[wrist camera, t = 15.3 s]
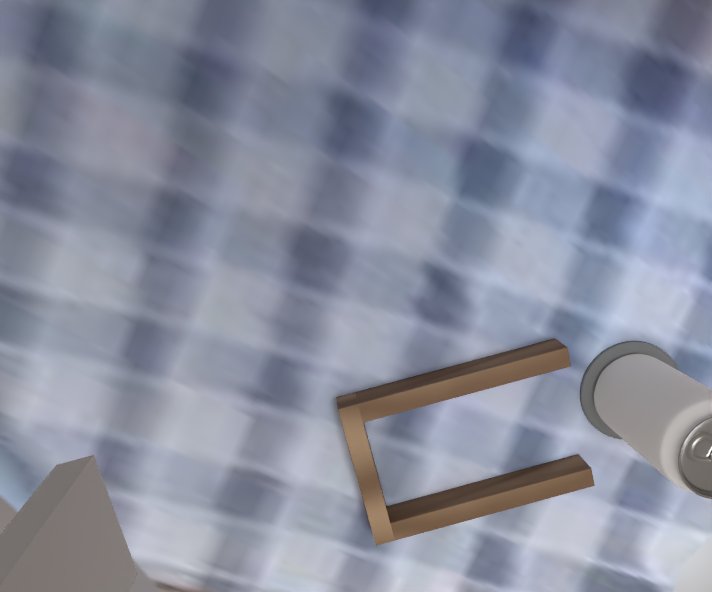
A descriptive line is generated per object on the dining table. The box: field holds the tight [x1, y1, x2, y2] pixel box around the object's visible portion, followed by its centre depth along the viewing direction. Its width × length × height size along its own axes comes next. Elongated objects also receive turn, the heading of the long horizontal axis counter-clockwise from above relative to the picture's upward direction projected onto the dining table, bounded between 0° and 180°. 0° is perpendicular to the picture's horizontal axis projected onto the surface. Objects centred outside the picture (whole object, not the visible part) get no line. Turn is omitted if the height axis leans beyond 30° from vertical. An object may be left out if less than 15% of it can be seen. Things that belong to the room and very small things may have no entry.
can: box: [594, 354, 712, 499], centre depth 47 cm, size 6×6×12 cm
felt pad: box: [580, 341, 678, 439], centre depth 53 cm, size 8×8×1 cm
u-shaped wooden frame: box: [337, 339, 594, 545], centre depth 52 cm, size 12×18×2 cm, turn 104°
